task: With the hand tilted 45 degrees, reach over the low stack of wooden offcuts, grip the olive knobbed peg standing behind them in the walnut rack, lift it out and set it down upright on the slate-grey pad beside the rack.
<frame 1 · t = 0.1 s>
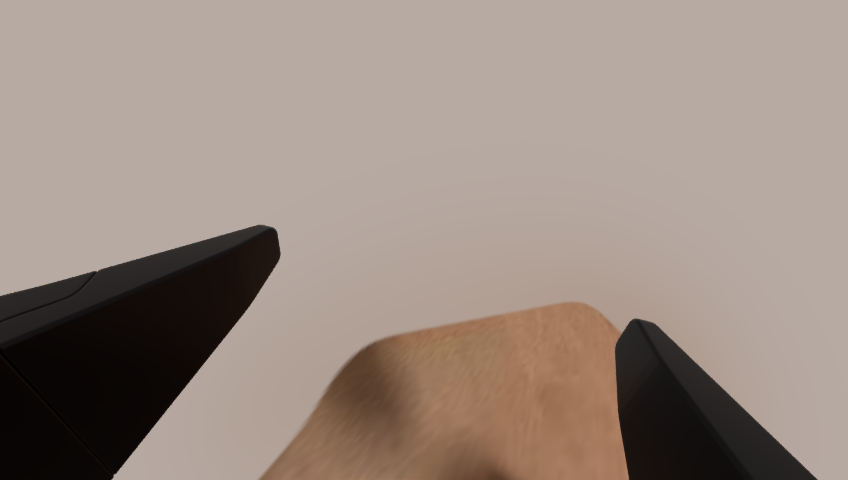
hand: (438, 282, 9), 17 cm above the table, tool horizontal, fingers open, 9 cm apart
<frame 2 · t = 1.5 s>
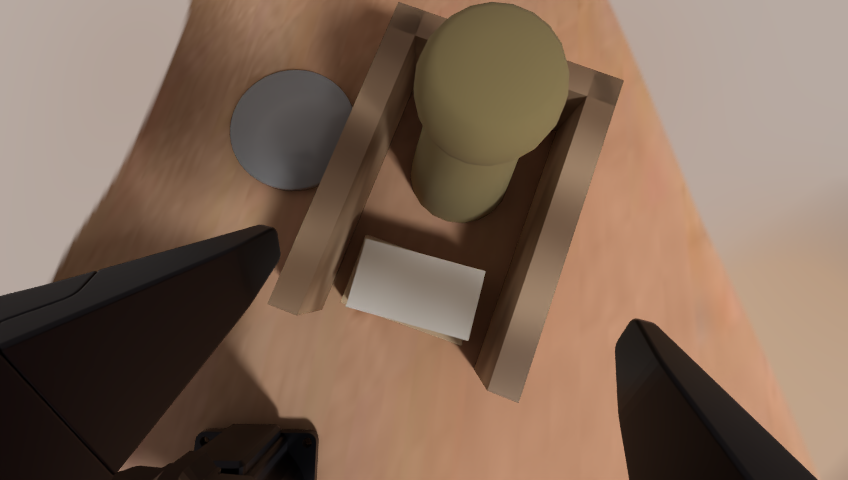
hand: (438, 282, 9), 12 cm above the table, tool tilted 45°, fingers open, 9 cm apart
walnut rack: (459, 174, 21), on the table
offcut stack: (413, 288, 20), on the table
slate pad: (295, 131, 21), on the table
olive knobbed peg: (459, 175, 21), resting in walnut rack
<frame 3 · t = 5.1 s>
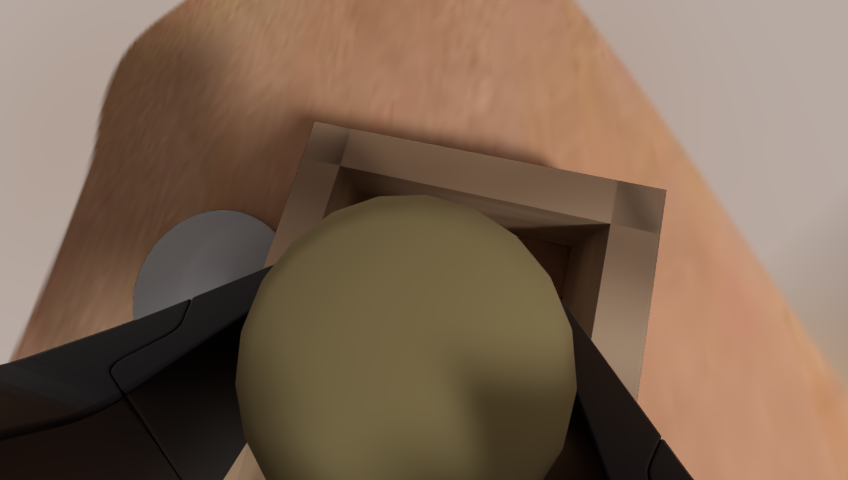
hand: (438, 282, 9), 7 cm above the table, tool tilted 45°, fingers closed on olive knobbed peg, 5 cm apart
walnut rack: (439, 328, 15), on the table
slate pad: (217, 290, 16), on the table
olive knobbed peg: (439, 327, 15), resting in walnut rack, touching gripper
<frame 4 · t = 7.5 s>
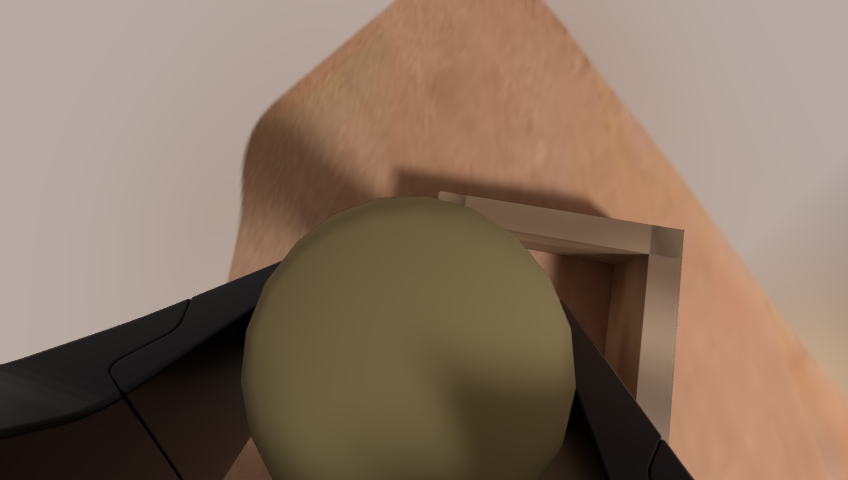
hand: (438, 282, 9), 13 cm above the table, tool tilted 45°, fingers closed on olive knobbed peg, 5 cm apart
walnut rack: (523, 327, 21), on the table
olive knobbed peg: (445, 328, 15), point 6 cm above the table, touching gripper
when the fingers open (8 cm above the table, at t = 9.9 s): olive knobbed peg drops 1 cm, resting on slate pad.
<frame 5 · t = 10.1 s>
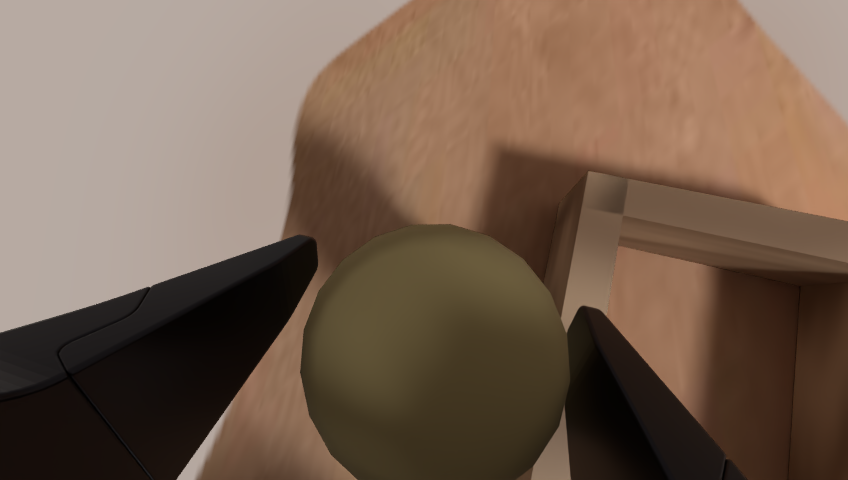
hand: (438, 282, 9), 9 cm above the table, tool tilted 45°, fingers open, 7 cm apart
walnut rack: (675, 364, 15), on the table
olive knobbed peg: (448, 329, 16), resting on slate pad
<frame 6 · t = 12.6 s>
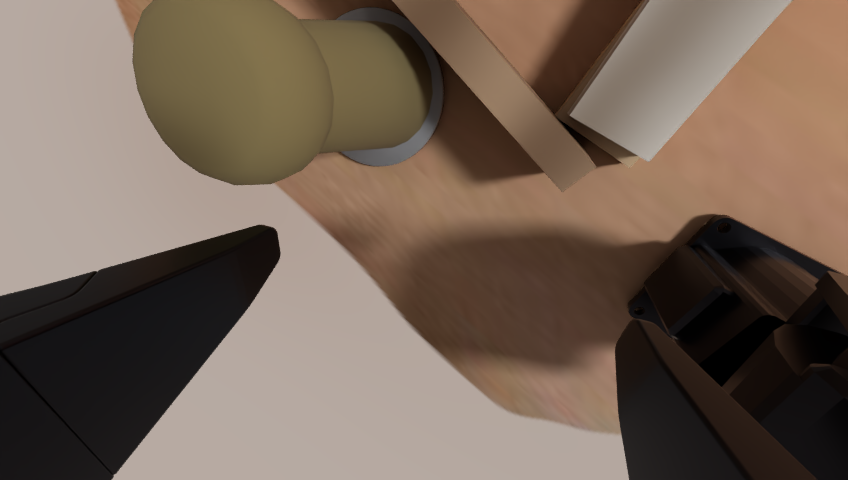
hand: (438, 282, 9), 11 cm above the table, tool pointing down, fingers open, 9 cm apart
offcut stack: (648, 67, 15), on the table
slate pad: (375, 93, 18), on the table
olive knobbed peg: (378, 89, 18), resting on slate pad
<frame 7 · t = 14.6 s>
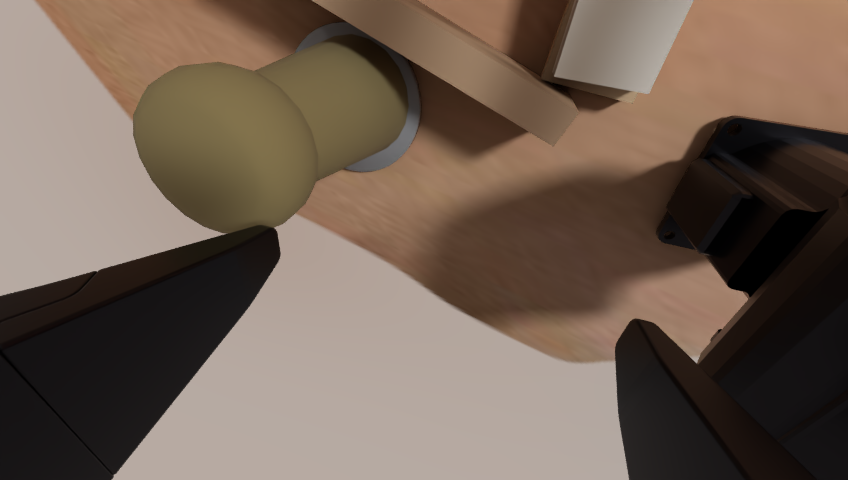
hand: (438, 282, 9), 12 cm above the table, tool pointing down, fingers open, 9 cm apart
slate pad: (355, 103, 19), on the table
olive knobbed peg: (356, 98, 19), resting on slate pad
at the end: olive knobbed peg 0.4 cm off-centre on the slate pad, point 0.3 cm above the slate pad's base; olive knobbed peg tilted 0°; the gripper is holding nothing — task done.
